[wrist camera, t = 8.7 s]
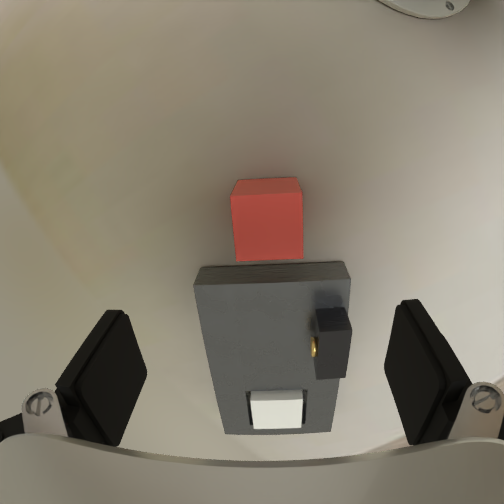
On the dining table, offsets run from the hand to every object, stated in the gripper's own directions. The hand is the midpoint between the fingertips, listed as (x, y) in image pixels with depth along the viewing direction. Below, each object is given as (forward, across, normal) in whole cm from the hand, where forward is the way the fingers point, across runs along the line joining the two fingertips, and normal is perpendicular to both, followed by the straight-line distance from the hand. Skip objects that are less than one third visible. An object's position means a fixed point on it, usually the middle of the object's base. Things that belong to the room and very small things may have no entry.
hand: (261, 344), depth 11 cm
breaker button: (+15, 0, +20) cm, 25 cm away
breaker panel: (+16, 0, +15) cm, 22 cm away
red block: (+16, 0, 0) cm, 16 cm away
